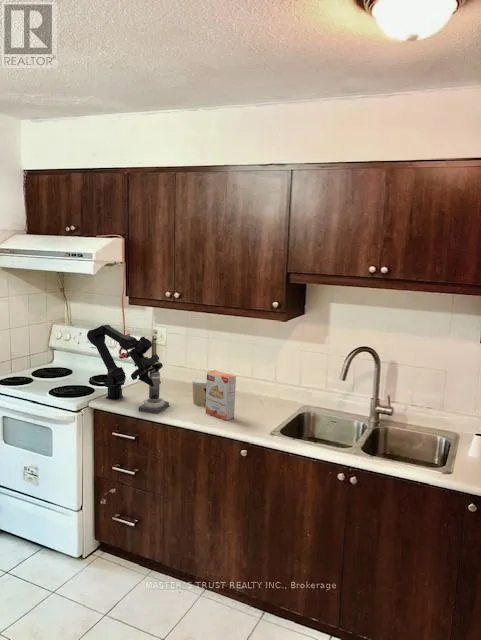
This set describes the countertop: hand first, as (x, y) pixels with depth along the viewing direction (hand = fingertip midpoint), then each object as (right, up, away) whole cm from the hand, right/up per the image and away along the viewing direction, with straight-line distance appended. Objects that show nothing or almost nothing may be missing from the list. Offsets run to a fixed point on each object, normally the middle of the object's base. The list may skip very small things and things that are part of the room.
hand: (156, 384), depth 252 cm
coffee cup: (+20, -11, +14) cm, 27 cm away
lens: (-1, -6, +2) cm, 7 cm away
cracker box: (+31, -15, -4) cm, 34 cm away
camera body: (-2, -12, +3) cm, 12 cm away
